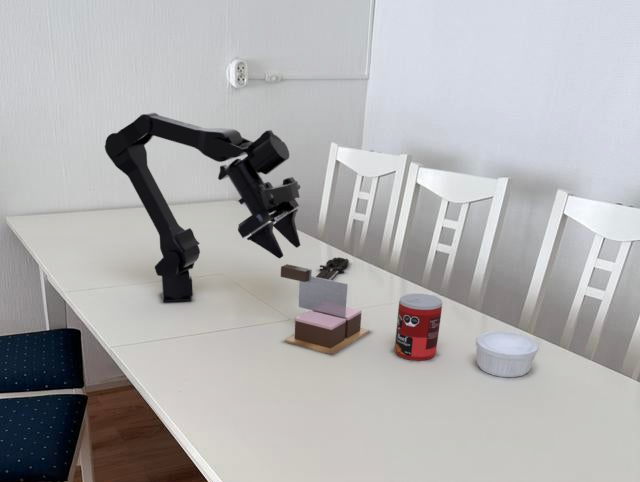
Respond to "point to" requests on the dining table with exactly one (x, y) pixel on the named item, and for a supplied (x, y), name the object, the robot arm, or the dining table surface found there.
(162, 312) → the dining table surface
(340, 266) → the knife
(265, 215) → the robot arm
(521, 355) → the ramekin
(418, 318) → the canned food
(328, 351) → the cake board
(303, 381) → the dining table surface
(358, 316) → the cake
